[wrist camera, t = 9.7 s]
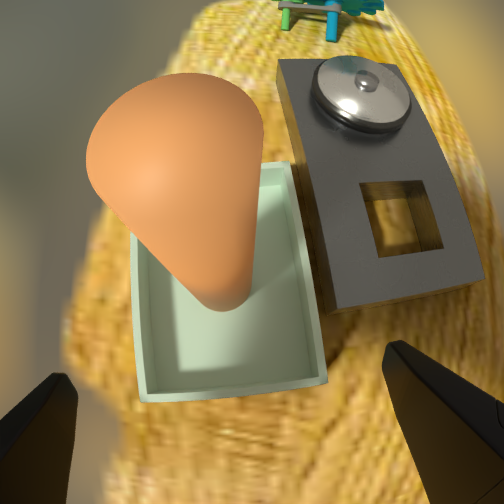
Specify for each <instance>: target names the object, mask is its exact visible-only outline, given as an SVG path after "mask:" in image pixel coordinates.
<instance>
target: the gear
mask: <svg viewBox="0 0 504 504" xmlns="http://www.w3.org/2000/svg"><path fill="white" fill-rule="evenodd" d="M272 1H280V2H279V4H278V9H279V10H282V11H283V12H282V25H281V30H287V31H288V30H289V20H290V11H292V12H306V13H318V14H327V29H326V41H331V42H336V39H337V24H338V15H341V11H344V12H346V13H348V14H349V15H351V16H360V15H361V12H364V13H366V14H369V15H374V14H376V10H381V11H384V1H383V0H272ZM305 2H306V3H307V5H306V4H304V3H305Z"/></svg>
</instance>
